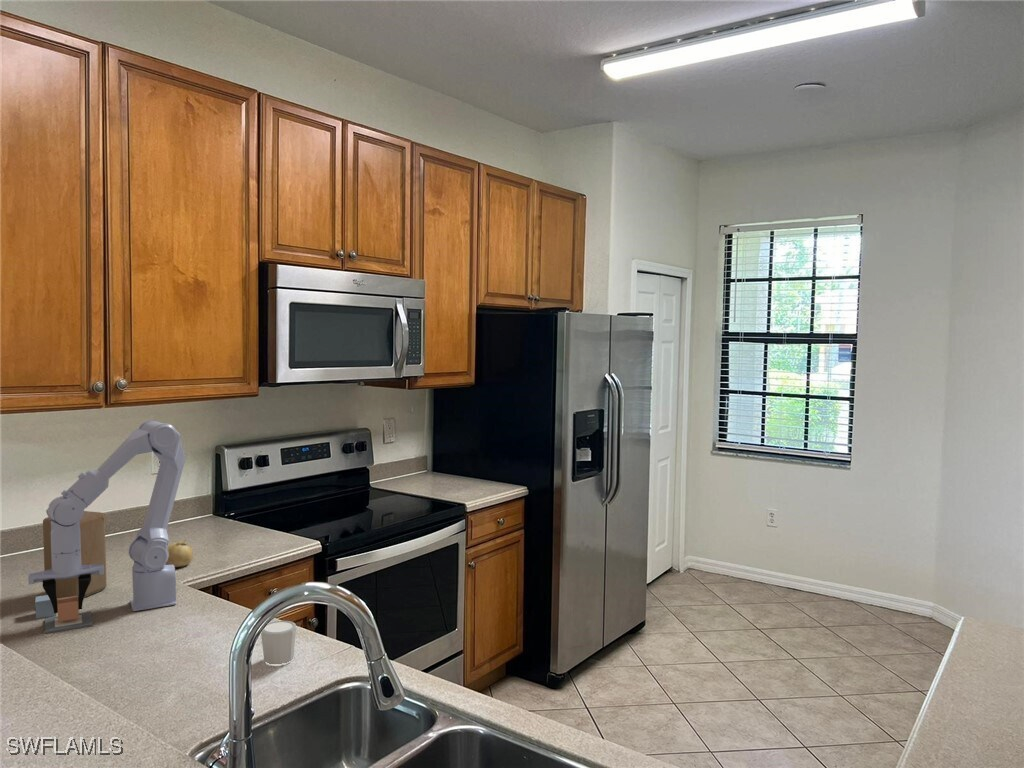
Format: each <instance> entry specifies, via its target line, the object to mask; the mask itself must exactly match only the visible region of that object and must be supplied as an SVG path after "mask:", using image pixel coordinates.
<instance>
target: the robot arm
mask: <svg viewBox="0 0 1024 768" xmlns="http://www.w3.org/2000/svg"><path fill="white" fill-rule="evenodd" d="M147 453H154V455H155V457H156V458H157V459H158V460H159V462H160V464H159V466H158V467H159V468H158V471H157V474H156V478H155V482H154V486H153V489H152V492H151V497H150V499H149V500H150V501H149V503H148V507H147V511H146V515H145V519H144V523H143V525H142V527H140V529H139V530H138V531H137V533H136V537H135V538H134V540H133V541H132V542H131V543H130V545H129V548H128V555H129V559H131V560H132V561H133V565H132V567H131V571H132V574H131V575H132V598H131V599H130V600H129V602H130V605H131V610H132V611H133V612H137V611H144V610H149V609H157V608H163V607H169V606H174V605H177V584H176V583H177V581H176V580H177V577H176V567H174V565H166V562H167V561H168V558H169V552H168V546H169V542H170V540H169V535H168V525H169V522H170V519H171V515H172V511H173V508H174V503H175V500H176V495H177V492H178V488H179V485H180V481H181V477H182V473H183V471H184V467H185V463H186V455H185V450H184V448H183V444H182V435H181V434H180V432H178V430H177V429H176V428H175V427H174V426H173V425H172V424H170V423H164V422H159V421H157V420H152V419H151V420H146V421H144V422H143V423H142V424H141V425H139V427H138V428H136V429H134V430H133V431H132V432H131V433H129V436H127V438H126V439H125V440H124V441H123V442H122V443H121V444H120V445H119V446H118V447H117V448H116V449H115V451H113V453H112V454H111V455H109V456H108V458H106V459H105V461H104V462H102V463H101V465H100V466H99V467H98V468H97V469H91V470H87V471H86V472H85V473H84V472H80V474H79V475H77V478H78V479H77V480H76V481H75V482H74V483H73V484H72V485H71V486H70V487H68V489H67V490H65V489H64V490H63V491H62V492H61V493H60V494H61V496H58V497H55V498H54V499H53V500H51V501H50V503H49V504H48V507H47V509H46V510H45V512H46V515H47V517H49V518H50V519H51V557H52V569H51V570H46V571H44V570H42V571H38V572H33V573H32V572H31V573H28V575H27V579H28V582H27V583H28V586H29V585H34V584H37V583H42V588H43V590H44V593H45V592H46V593H47V595H48V597H49V599H50V601H51V603H52V606H53V610H54V613H56V614H58V607H57V599H58V598H56V580H60V579H67V578H74V577H78V584H79V596H78V609H79V611H80V610H82V609H83V602H84V599H85V597H84V596H85V593H86V591H87V588H88V586H89V584H90V582H91V575H96V574H98V575H102V574H104V565H103V564H98V565H81V537H80V521H79V520H81V519H82V517H83V514H84V511H85V509H87V508H89V507H90V505H91V504H92V503H93V502H95V501H96V499H98V498H99V497H100V496H101V495H102V494H103V493H104V492H105V491H106V490H107V489H108V488H109V482H110V479H111V478H112V477H113V476H114V475H115V474H117V472H119V471H120V470H121V469H122V468H123V467H124V466H126V464H128V463H129V462H130V461H131V460H133V459H134V458H135V457H136V456H138V455H142V454H147Z"/></svg>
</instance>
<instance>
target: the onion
mask: <svg viewBox="0 0 1024 768" xmlns="http://www.w3.org/2000/svg"><path fill="white" fill-rule="evenodd" d="M186 541H187V539H185V540H184V541H181V542H173V543H171V544H170V545H169V544H168V552H169V558H168V561H167V562H166V564H165V565H174V567H175V568H182V567H185V566H187V565H189V564H190V563H191V562H192V561H193V559H194V551H193V549H192V547H191V546H190V545H188V543H187V542H186Z"/></svg>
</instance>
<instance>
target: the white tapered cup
mask: <svg viewBox="0 0 1024 768" xmlns="http://www.w3.org/2000/svg"><path fill="white" fill-rule="evenodd" d="M268 623H269V624H268ZM268 623H267V624H268V625H267V626H266V627H265V628H264V630H263V631H262V633H261V632H260V635H261V644H262V645H261V646H262V653H263V655H262V656H263V662H264V661H265V662H267V663H269V664H282V663H287V662H289V661H291V660H292V659H293V657H295V645H296V635H297V633H296V632H297V624H296V623H295V622H293V621H289V620H276V621H271V622H268ZM293 660H294V659H293Z"/></svg>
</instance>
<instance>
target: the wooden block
mask: <svg viewBox="0 0 1024 768" xmlns="http://www.w3.org/2000/svg"><path fill="white" fill-rule="evenodd" d="M79 521H80V537H81V565H98V564H103V565H104V574H102V575H98V574H96V575H91V582H90V584H89V586H88V588H87V591H86V593H85V596H84V598H86V597H89V596H92V595H94V594H96V593H98V592H101V591H103V590H105V589H106V588H107V585H108V584H107V582H108V581H107V554H106V553H107V552H106V551H107V550H106V548H107V547H106V516H105V514H104V513H103V512H100V511H90V510H89V511H87V510H84V514H83V517H82V519H81V520H79ZM42 534H43V535H42V536H43V538H42V539H43V565H44V568H43V571H46V570H51V569H52V557H51V519H50V518H49V517H48V516H47V517H45V518H44V519H43V520H42ZM44 595H47V593H46V592H45V591H44ZM71 596H79V584H78V577H74V578H67V579H60V580H56V598H57V599H58V598H65V597H71Z"/></svg>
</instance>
